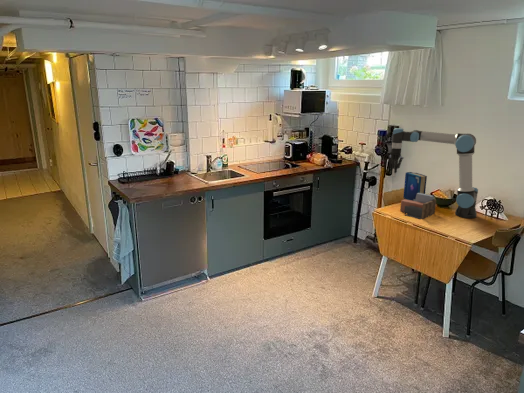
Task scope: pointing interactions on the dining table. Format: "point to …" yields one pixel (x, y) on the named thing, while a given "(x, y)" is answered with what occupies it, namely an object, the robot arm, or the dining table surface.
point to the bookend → (413, 211)
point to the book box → (409, 202)
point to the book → (414, 185)
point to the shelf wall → (428, 209)
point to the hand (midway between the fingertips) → (393, 176)
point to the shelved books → (424, 198)
